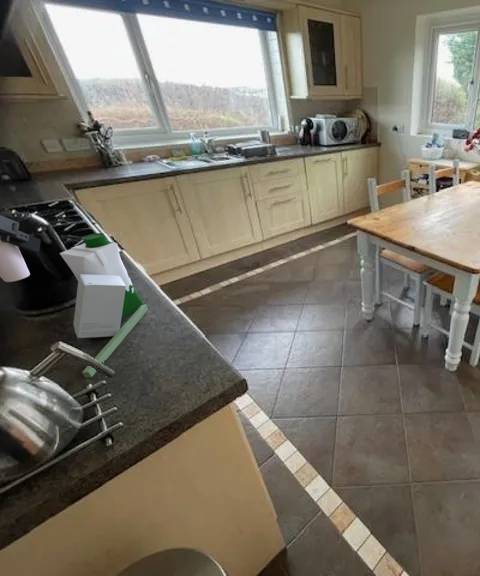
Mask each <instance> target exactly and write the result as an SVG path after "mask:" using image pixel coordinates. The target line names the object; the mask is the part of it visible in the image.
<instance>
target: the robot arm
mask: <svg viewBox="0 0 480 576" xmlns="http://www.w3.org/2000/svg"><path fill="white" fill-rule="evenodd" d="M19 228H20V222H19V221H16V220H14V219H11V218H8V217H5V216H4V215H2V214H0V237H1V239H0V240H2V242H7V243H10V244H13V245H15V246H18V248H21V249H24V250H26V251H28V252H32V253H35V254H36V253H40V247H41V241H42V240H41V239H40V238H38V237H35V236H33V235H31V234H29V233H26V232H24V231H21V230H19Z"/></svg>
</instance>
